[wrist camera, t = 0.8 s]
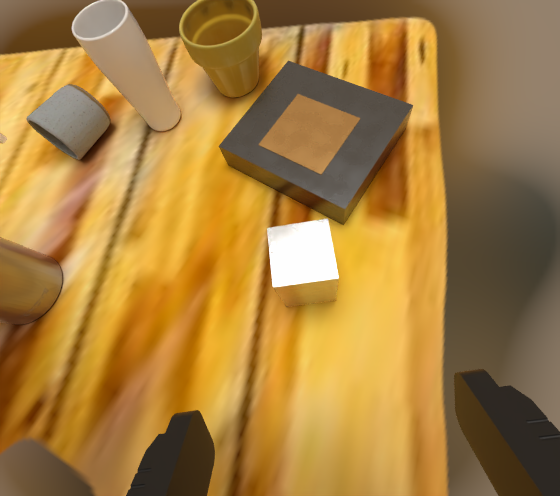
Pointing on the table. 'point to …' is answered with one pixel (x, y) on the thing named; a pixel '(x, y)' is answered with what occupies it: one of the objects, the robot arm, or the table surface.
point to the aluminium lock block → (303, 263)
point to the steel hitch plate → (316, 138)
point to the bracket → (2, 138)
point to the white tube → (126, 60)
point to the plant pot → (224, 42)
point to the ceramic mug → (71, 120)
